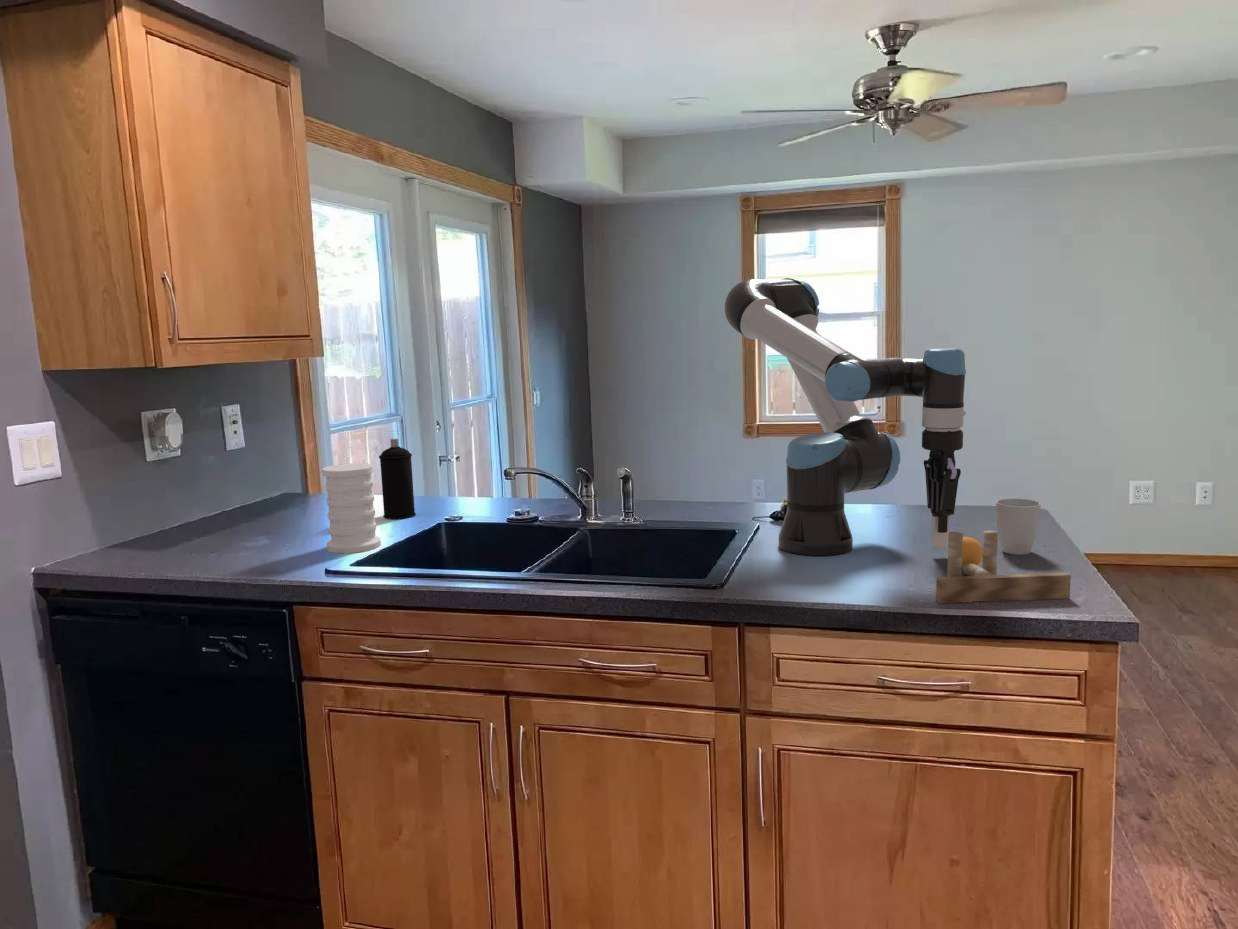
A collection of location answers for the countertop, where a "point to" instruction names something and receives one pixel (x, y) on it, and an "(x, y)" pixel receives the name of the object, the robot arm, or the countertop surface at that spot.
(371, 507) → the decorative container
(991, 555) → the rear pin left
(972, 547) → the ball
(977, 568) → the front pin
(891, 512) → the countertop surface
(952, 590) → the back wall
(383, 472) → the aerosol can
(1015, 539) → the cup
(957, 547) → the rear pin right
